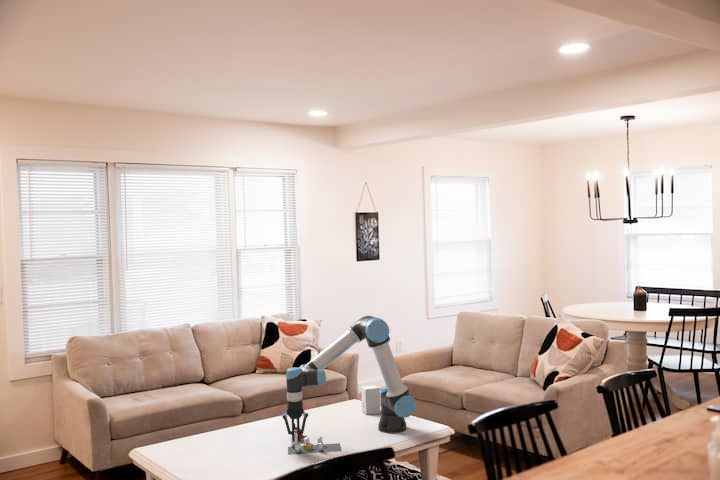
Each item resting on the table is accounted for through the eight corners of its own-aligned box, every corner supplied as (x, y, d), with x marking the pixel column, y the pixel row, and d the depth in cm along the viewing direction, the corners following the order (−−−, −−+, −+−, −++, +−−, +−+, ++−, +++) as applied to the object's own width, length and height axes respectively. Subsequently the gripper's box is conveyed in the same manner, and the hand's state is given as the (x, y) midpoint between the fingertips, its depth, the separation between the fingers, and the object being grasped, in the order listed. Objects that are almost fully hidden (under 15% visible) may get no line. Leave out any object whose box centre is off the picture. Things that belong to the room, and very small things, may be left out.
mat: (339, 444, 333) (339, 443, 333) (341, 452, 321) (341, 450, 321) (287, 447, 330) (287, 446, 330) (287, 455, 318) (287, 454, 318)
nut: (312, 447, 327) (312, 442, 327) (313, 450, 323) (313, 445, 323) (303, 448, 327) (303, 443, 327) (303, 450, 323) (303, 445, 323)
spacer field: (322, 444, 332) (322, 436, 332) (323, 452, 320) (323, 443, 320) (291, 446, 330) (291, 438, 330) (291, 454, 318) (291, 445, 318)
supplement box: (380, 413, 387) (380, 388, 387) (366, 415, 384) (365, 389, 384) (376, 409, 396) (375, 384, 395) (361, 411, 393) (360, 386, 393)
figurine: (307, 433, 351) (309, 440, 337) (296, 444, 350) (297, 451, 335) (294, 420, 351) (295, 425, 336) (283, 430, 350) (284, 436, 335)
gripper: (307, 397, 329) (309, 444, 329) (281, 398, 327) (283, 446, 327) (308, 400, 321) (309, 449, 321) (281, 402, 320) (282, 451, 320)
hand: (296, 447), depth 324 cm, fingers closed
